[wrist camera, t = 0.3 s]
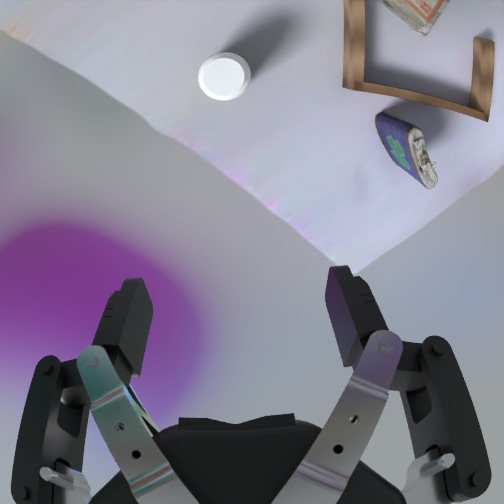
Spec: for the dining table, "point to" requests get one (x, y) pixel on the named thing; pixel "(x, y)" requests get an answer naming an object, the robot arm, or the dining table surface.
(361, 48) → the frame
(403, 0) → the packaged product
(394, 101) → the dining table surface
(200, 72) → the supplement bottle
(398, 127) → the flask
